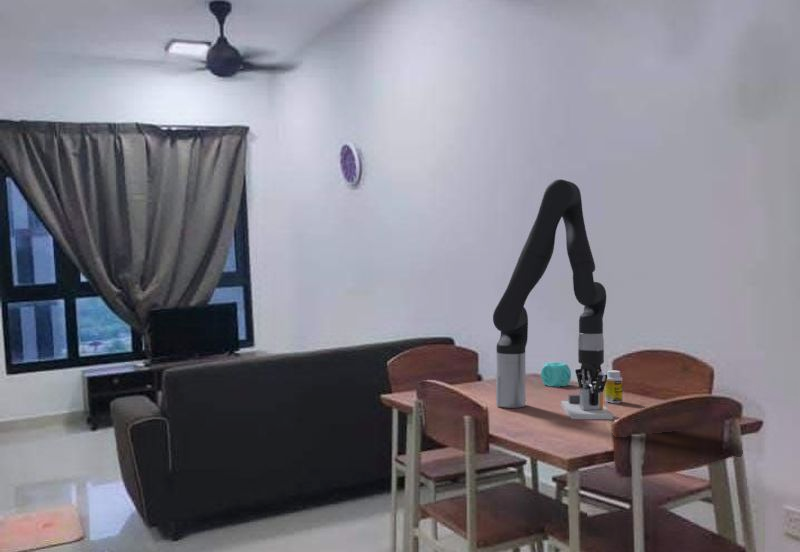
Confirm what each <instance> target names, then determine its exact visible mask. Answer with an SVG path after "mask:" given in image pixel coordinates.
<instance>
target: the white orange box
mask: <svg viewBox="0 0 800 552" xmlns="http://www.w3.org/2000/svg"><path fill="white" fill-rule="evenodd" d="M594 389H595V387H594ZM579 395H580V409H582V410H593V409H603V405H604V391H603V392H600V393H599V394H598V405H597V406H592V405H591V388H588V389H582V388H579Z"/></svg>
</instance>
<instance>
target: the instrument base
mask: <svg viewBox="0 0 800 552" xmlns="http://www.w3.org/2000/svg"><path fill="white" fill-rule="evenodd" d="M567 395H568V397H567V399H568V400H561V401H560V404H561V407H562V409H563V410H564V411H565V412H566V413H567V415H568V416H569V418H570V419H571V420H614V414H613V412H612V411H610V410H609V409H608V408H607V407H606V406H605V405H604V404H603V409H593V410H582V409H580V394H567Z"/></svg>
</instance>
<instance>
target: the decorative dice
mask: <svg viewBox="0 0 800 552" xmlns="http://www.w3.org/2000/svg"><path fill="white" fill-rule="evenodd" d="M540 376H541V380H542V383H543V384H544V385H545V386H546V385H547V386H546V387H550V386H554V387H553V388H561V387H560V386H565V387H567V386H568V385H569V384H570V382H571V378H572V372H571V368H570V366H568V364H567V363H565V362H546V363H544V365H543V366H542V367H541V371H540Z"/></svg>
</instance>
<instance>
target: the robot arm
mask: <svg viewBox="0 0 800 552" xmlns="http://www.w3.org/2000/svg"><path fill="white" fill-rule="evenodd" d="M584 218H585V217H584V212H583V202H582V195H581V191H580V188H579V186H577V184H575V183H574V182H572V181H569V180H566V179H555V180H552V181H551V182H550V183H549V184H548V185H547V186H546V188H545V190H544V192H543V197H542V199H541V202H540V206H539V209H538V213H537V215H536V218H535V220H534V223H533V225H532V227H531V229H530V232H529V233H528V236H527V239H526V240H525V243H524V245H523V247H522V249H521V252H520V255H519V257H518V259H517V262H516V265H515V266H514V269H513V272H512V274H511V277H510V279H509V283H508V284H507V287H506V289H505V291H504V292H503V295H502V296H501V298H500V300H499V302H498V304H497V306H496V307H495V309H494V311H493V315H492V322H493V325H494V326H495V328H496V329H497V331H499V332H500V335H499V336H500V337H499V339H498V342H497V343H496V375H495V383H496V384H495V390H496V391H495V393H496V394H495V400H496V402H495V403H496V406H497V408H511V409H516V408H524V407H525V406H527V405H526V401H527V400H526V397H527V396H526V393H527V392H526V389H527V387H526V346H527V344H528V337H529V336H528V335H529V319H528V318H529V316H528V312H527V309H526V308H525V307H524V306H525V304H526V301H527V299H528V297H529V295H530V293H531V292H532V291H533V289H534V288H535V286H536V285H537V284H538V283H539V282H540V280H541V279H542V278H543V276H544V274H545V272H546V271H547V268H548V266H549V265H550V261H551V259H552V256H553V254H554V250H555V243H556V241H555V240H556V233H557V230H558V229H557V228H558V226H559V223H560V221H561V219H562V220H563V224H564V227H565V239H566V242H565V243H566V250H567V252H566V253H567V257H568V260H569V264H570V268H571V272H572V285H573V286H572V287H573V294H574V297H575V298H576V301H578V303H579V304H580V305H582V306H584V308H583V312H582V313H581V314H580V315H579V320H578V339H577V345H578V347H577V350H578V353H577V356H578V358H577V360H578V361H577V362H578V363H579V364H581V365H580V367H579V368H578V369H577V368H576V369H575V372H574V373H575V376H576V379H577V383H578V386H579V389H588V388H591V405H592V406H597V405H598V394H599V393H600V392H603V393H604V392H605V384H606V381H607V377H608V376H607V374H604V373H603V370H602V364H604V363H605V354H604V353H605V349H604V348H605V340H604V339H605V338H604V321H603V320H604V319H603V318H604V314H605V309H606V304H607V292H606V291H607V290H606V288H605V286H604V285H603V284H602V283H601V282H598V281H594V274H593V273H594V272H595V271H596V264H595V259H594V257H593V252H592V249H591V245H590V242H589V239H588V235H587V234H588V233H587V230H586V229H587V228H586V225H585V220H584ZM594 388H595V389H594Z"/></svg>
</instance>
